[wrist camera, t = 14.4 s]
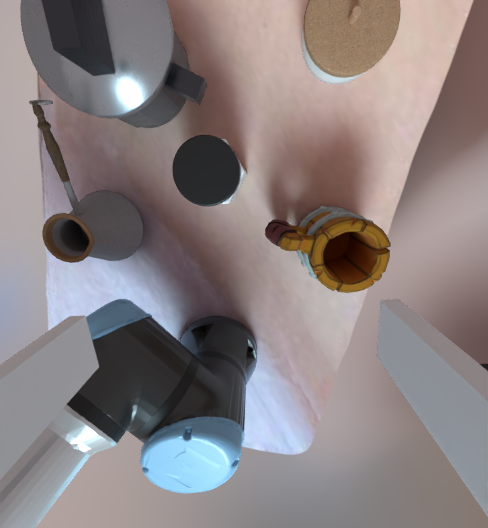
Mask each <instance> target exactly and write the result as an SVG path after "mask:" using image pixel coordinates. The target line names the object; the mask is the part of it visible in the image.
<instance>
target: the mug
mask: <svg viewBox="0 0 488 528" xmlns="http://www.w3.org/2000/svg"><path fill="white" fill-rule="evenodd" d="M265 235H266V237H267V238H268V239H269V240H270V241H271V242H272V243H273V244H275V245H277V246H280V247H281V249H284V250H286V251H297V253H298V256H299V257H300V259H301V261H302V265H303V266H305V267H307V268H308V269H309V274H310V276H311V277H313V278H316V279H318V280H319V281H320V282H321V283H322V284H323V285H325V286H326V287H327V288H329V289H331V290H333V291H334V290H335V289H336V290H337V291H338V292H345V293H349V292H357V291H361V290H364V289H366V288H368V287H370V286H372V285H373V284H374V282H375V281H378V280H379V279H380V278H381V277H382V274H381V273H383V272H385V270H386V267H387V264H388V261H389V254H390V250H388V249H387V247H390V242H389V240H388V237H387V235H386V234H385V233H384V231H383V230H382V229H381V228H379V227H378V226H377V225H375V224H374V223H373V221H370V220H367V219H365V218H364V217H362V216H359V215H357V214H355V213H351V212H349V211H348V210H345V209H342V208H340V207H325V206H320V207H319V208H318V209H316V210H314V211H312V212H310V213H309V214H308V215H306V217H305V218H303V219H302V221H301V223H300V224H299V226H293V225H290V224H289V223H288V222H286V221H282V220H278V219H277V220H272V221H271V222H269V224H268V226H267V227H266V229H265Z"/></svg>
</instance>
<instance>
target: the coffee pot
mask: <svg viewBox="0 0 488 528" xmlns="http://www.w3.org/2000/svg"><path fill="white" fill-rule="evenodd" d="M38 102H48V103H38ZM29 103H30V104H32V105H33V111H34V114H35V115H36V116H37V117H38V121H39V122H38V125H37V126H38V128H40V129H41V130H42V132H43V136H44V140H45V144H46V148H47V151H48V153H49V155H50V157H51V159H52V161H53V163H54V165H55V167H56V170H57V172H58V174H59V176H60V178H61V180H62V182H63V183H64V186H65V189H66V191H67V194H68V197H69V200H70V202H71V205H72V208H73V210H72V211H71V212H70V214H66V213H60V214H56V215H53V216H52V217H50V218H49V219H48V220H47V221H46V223H45V224H44V227H43V240H44V243H45V245H46V247H47V249H48V250H49V251H50V252H51V254H52V255H54V256H55V257H56V258H58V259H60V260H62V261H65V262H70V263H73V262H79V261H82V260H84V259H85V258H86V257H87V256H90V257H95V258H99V259H104V260H109V261H117V260H122V259H125V258H128V257H129V256H131V255H132V254H134V253H135V252H136V250H137V249H138V248H139V246H140V244H141V241H142V239H143V230H144V228H143V223H142V219H141V216H140V214H139V212H138V210H137V209H136V208H135V207H134V205H133V204H132V203H131V202H130V201H129V200H127V199H126V198H125V197H123V196H121V195H119V194H117V193H114V192H109V191H96V192H94V193H91V194H88V195H87V196H85V197H84V198H83V199H82V200H81V201H80V202H78V200H77V197H76V195H75V193H74V190H73V188H72V185H71V183H70V181H69V180H70V179H69V176H68V173H67V170H66V167H65V164H64V161H63V157H62V154H61V151H60V148H59V146H58V144H57V142H56V141H55V139H54V137H53V135H52V133H51V131H50V128H51V125H50V124H49V123H48V122H47V121H46V120H45V117H44V112H43V110H42V108H41V106H40V105H48V104H52V103H53V101H50V100H34V101H30V102H29Z"/></svg>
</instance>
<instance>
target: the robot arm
mask: <svg viewBox="0 0 488 528" xmlns="http://www.w3.org/2000/svg"><path fill="white" fill-rule="evenodd" d="M377 357H378V359H379V360H380V361H381V363H382V365H383V366H384V367H385V369H386V370H387V372H388V373H389V375H390V376H391V378H392V379H393V380H394V382H395V383H396V385H397V386H398V388H399V389H400V391H401V392H402V393H403V395H404V396H405V398H406V399H407V401H408V402H409V404H410V405H411V406H412V408H413V409H414V411H415V412H416V414H417V415H418V417H419V418H420V419H421V421H422V422H423V424H424V425H425V427H426V428H427V430H428V431H429V432H430V434H431V435H432V437H433V438H434V440H435V441H436V443H437V444H438V445H439V447H440V448H441V450H442V451H443V453H444V454H445V456H446V457H447V458H448V460H449V461H450V463H451V464H452V466H453V467H454V469H455V470H456V471H457V473H458V474H459V476H460V477H461V479H462V480H463V481H464V483H465V485H466V486H467V487H468V489H469V490H470V492H471V493H472V494H473V496H474V498H475V499H476V500H477V502H478V503H479V504H480V506H481V507H482V509H483V511H484V512H485V513H486V515H487V516H488V364H478V363H477V362H476V361H474V360H473V359H472V358H471V357H470V356H469V355H467V354H466V353H465V352H464V351H462V350H461V349H460V348H459V347H457V346H456V345H455V344H454V343H453V342H451V341H450V340H449V339H448V338H446V337H445V336H444V335H442V334H441V333H440V332H439V331H438V330H437V329H435V328H434V327H433V326H432V325H430V324H429V323H428V322H427V321H425V320H424V319H423V318H422V317H420V316H419V315H418V314H417V313H416V312H414V311H413V310H412V309H411V308H409V307H408V306H407V305H405V304H404V303H403V302H402V301H401V300H399V299H393V300H381V301H380V314H379V329H378V345H377ZM256 362H257V346H256V342H255V340H254V338H253V336H252V334H251V333H250V331H249V330H248V329H247V328H246V327H245V326H243V325H242V324H241V323H239V322H237V321H235V320H233V319H231V318H227V317H222V316H211V317H205V318H202V319H200V320H198V321H196V322H194V323H193V324H192V325H190V326H189V327H188V328H187V330H186V331H185V333H184V334H183V336H182V338H181V340H180V342H179V341H178V340H177V339H176V338H175V337H173V336H172V335H171V334H170V333H169V332H168V331H166V330H165V329H164V328H163V327H162V326H161V325H160V324H159V323H158V322H156V321H155V320H154V319H153V318H152V316H151V314H147V313H146V312H145V311H143V310H142V309H141V308H139V307H138V306H137V305H135V304H134V303H133V302H132V301H130V300H127V299H118V300H115V301H112V302H110V303H108V304H106V305H104V306H103V307H101V308H99V309H98V310H96V311H95V312H93V313H92V314H90V315H89V316H87V317H86V316H70V317H68V318H67V319H65V320H64V321H62V322H61V323H60V324H58V325H57V326H55V327H54V328H52V329H51V330H49V331H48V332H47V333H45V334H44V335H42V336H41V337H39V338H38V339H37V340H35V341H34V342H32V343H31V344H29V345H28V346H27V347H25V348H24V349H22V350H21V351H19V352H18V353H17V354H15V355H14V356H12V357H11V358H9V359H8V360H6V361H5V362H4V363H2V364H1V365H0V528H36V526H37V525H38V524H39V522H40V521H41V520H42V518H43V517H44V516H45V515H46V513H47V512H48V511H49V509H50V508H51V507H52V505H53V504H54V503H55V501H56V500H57V499H58V497H59V496H60V495H61V494H62V492H63V491H64V490H65V488H66V487H67V486H68V484H69V483H70V482H71V481H72V479H73V478H74V477H75V475H76V474H77V473H78V471H79V470H80V469H81V468H82V466H83V465H84V463H85V462H86V461H87V460H88V458H89V457H90V456H91V455H92V454H94V453H96V452H98V451H101V450H104V449H108V448H111V447H114V446H115V445H116V444H117V443H118V441H119V440H120V439H121V437H122V436H123V434H124V433H125V432H126V431H129V432H130V433H132V434H133V435H134V436H135V437H137V438H138V439H139V440H140V441H142V442H143V443H144V445H143V447H142V450H141V460H140V461H141V466H142V467H143V472H144V474H145V476H146V477H147V478H148V479H149V480H150V481H151V482H152V483H154V484H155V485H157V486H159V487H161V488H163V489H166V490H169V491H173V492H178V493H195V492H196V493H197V492H204V491H208V490H211V489H213V488H216V487H218V486H220V485H221V484H223V483H224V482H226V481H227V480H228V479H229V478H230V477H231V476H232V475H233V473H234V472H235V471H236V469H237V467H238V465H239V461H240V457H241V450H242V443H243V441H244V420H245V394H246V384H247V383H248V381H249V379H250V377H251V375H252V374H253V372H254V369H255V367H256Z"/></svg>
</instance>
